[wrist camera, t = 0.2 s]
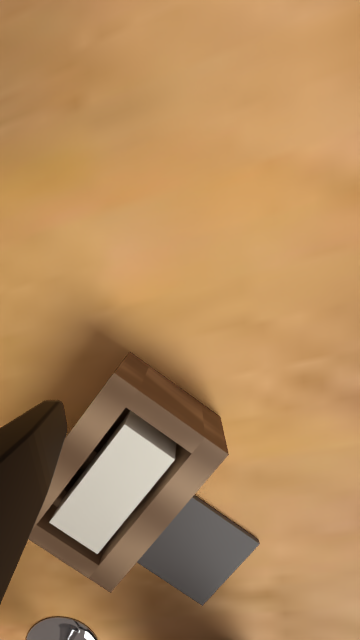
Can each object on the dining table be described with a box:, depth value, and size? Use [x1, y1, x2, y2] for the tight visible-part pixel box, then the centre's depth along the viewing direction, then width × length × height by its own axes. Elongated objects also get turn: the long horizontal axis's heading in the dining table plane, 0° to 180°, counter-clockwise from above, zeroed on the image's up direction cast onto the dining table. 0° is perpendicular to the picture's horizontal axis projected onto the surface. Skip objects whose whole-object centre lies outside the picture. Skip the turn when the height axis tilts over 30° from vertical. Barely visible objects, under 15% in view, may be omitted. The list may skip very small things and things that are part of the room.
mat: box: [137, 495, 259, 606], centre depth 26 cm, size 8×8×1 cm
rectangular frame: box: [28, 352, 229, 593], centre depth 22 cm, size 13×9×5 cm
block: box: [49, 411, 176, 554], centre depth 21 cm, size 9×4×2 cm, turn 143°
